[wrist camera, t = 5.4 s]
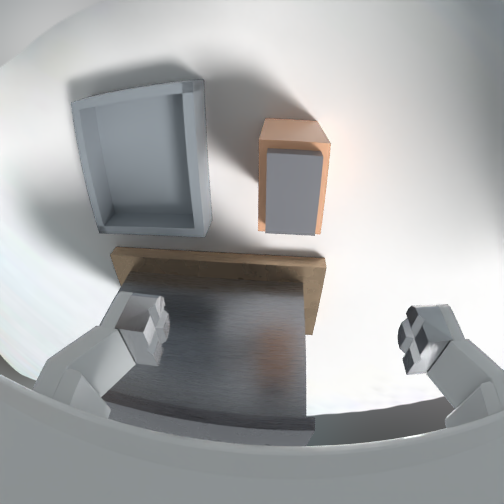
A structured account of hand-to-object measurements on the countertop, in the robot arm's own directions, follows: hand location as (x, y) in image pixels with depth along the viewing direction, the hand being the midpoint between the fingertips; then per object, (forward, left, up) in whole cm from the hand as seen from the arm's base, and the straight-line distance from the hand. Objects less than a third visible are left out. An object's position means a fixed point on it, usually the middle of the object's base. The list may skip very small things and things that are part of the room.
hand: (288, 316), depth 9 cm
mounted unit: (+7, +15, -17) cm, 24 cm away
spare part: (0, 0, -17) cm, 17 cm away
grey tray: (+12, 0, -17) cm, 21 cm away
